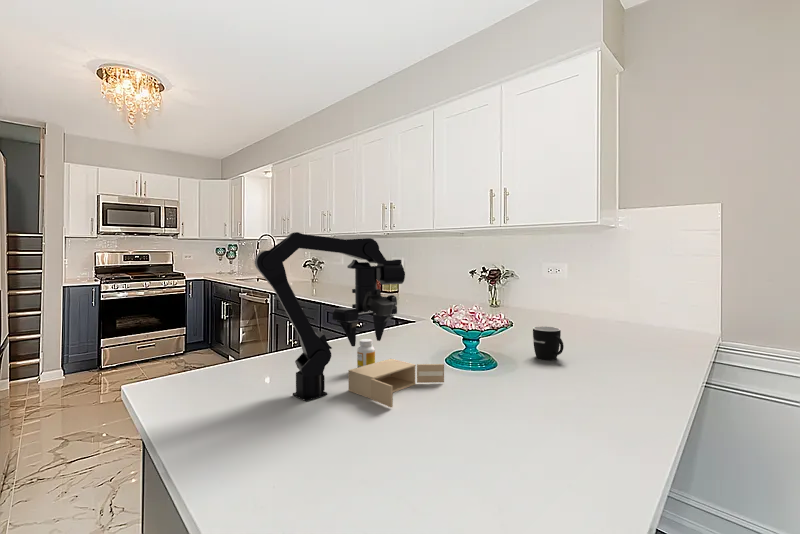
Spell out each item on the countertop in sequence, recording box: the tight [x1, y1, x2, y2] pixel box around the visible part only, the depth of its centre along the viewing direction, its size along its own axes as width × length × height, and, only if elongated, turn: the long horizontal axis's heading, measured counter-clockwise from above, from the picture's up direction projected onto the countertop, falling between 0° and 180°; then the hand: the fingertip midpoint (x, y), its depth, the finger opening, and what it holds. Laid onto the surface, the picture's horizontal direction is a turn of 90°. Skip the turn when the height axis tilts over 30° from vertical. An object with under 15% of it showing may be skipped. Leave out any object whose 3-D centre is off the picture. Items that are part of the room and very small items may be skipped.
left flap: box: [370, 379, 394, 408], centre depth 101 cm, size 8×1×5 cm, turn 42°
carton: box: [347, 358, 417, 399], centre depth 114 cm, size 16×10×6 cm, turn 137°
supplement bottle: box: [356, 338, 376, 368], centre depth 128 cm, size 5×5×10 cm
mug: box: [532, 325, 564, 361], centre depth 143 cm, size 12×9×10 cm
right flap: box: [416, 363, 445, 384], centre depth 117 cm, size 8×1×5 cm, turn 92°
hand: (366, 343), depth 113 cm, fingers open, 9 cm apart
